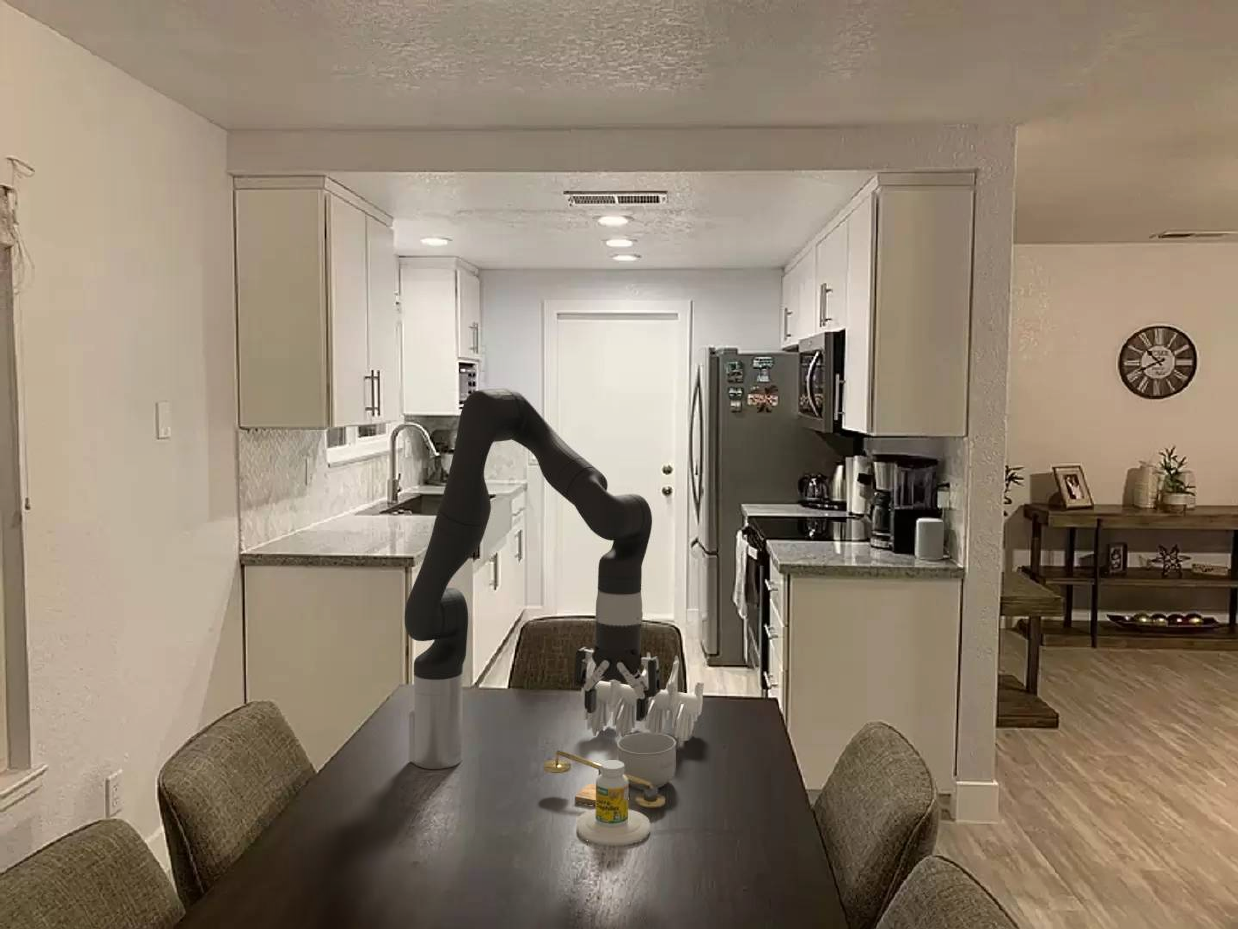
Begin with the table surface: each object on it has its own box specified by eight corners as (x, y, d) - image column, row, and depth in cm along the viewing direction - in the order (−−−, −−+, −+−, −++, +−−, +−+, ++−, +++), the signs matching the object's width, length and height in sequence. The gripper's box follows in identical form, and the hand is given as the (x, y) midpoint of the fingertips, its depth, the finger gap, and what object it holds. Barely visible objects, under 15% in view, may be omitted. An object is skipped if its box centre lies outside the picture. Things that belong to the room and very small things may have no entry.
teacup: (670, 798, 177) (671, 754, 177) (610, 792, 180) (611, 748, 179) (681, 769, 191) (682, 728, 190) (625, 763, 193) (626, 723, 193)
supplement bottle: (631, 817, 166) (633, 760, 165) (622, 830, 161) (623, 772, 160) (601, 812, 168) (602, 756, 167) (590, 825, 162) (591, 768, 162)
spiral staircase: (693, 769, 202) (574, 750, 207) (707, 708, 216) (595, 692, 222) (693, 701, 193) (568, 683, 198) (708, 643, 207) (592, 627, 213)
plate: (564, 838, 161) (564, 829, 161) (593, 809, 172) (593, 801, 172) (634, 852, 156) (634, 843, 156) (659, 821, 168) (659, 814, 168)
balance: (536, 796, 177) (537, 753, 176) (551, 783, 183) (551, 742, 182) (658, 818, 169) (659, 773, 168) (669, 805, 174) (670, 761, 174)
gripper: (568, 618, 161) (566, 716, 162) (652, 628, 155) (649, 729, 157) (587, 608, 168) (584, 703, 169) (667, 618, 162) (664, 715, 164)
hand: (615, 716), depth 163 cm, fingers open, 8 cm apart
